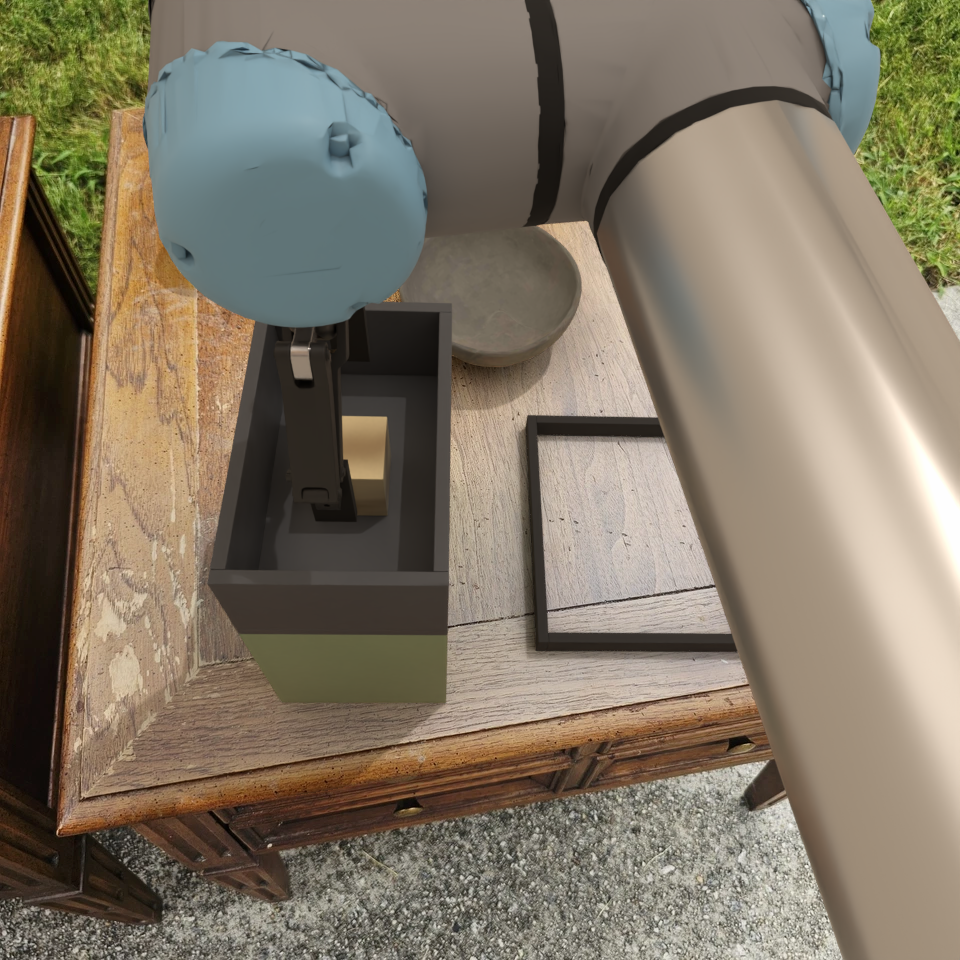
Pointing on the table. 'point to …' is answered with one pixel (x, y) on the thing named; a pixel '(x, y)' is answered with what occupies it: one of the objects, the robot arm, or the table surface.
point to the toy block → (368, 462)
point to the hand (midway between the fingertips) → (344, 432)
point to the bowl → (499, 291)
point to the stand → (353, 667)
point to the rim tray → (542, 637)
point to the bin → (372, 539)
